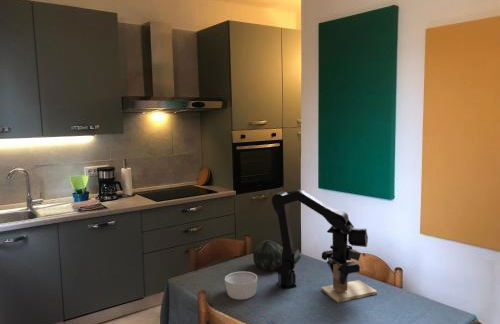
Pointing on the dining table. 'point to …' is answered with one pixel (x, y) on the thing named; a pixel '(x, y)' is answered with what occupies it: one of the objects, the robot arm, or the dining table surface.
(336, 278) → the walnut block
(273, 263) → the squash
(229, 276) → the ramekin
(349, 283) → the birch board
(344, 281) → the robot arm
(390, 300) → the dining table surface
